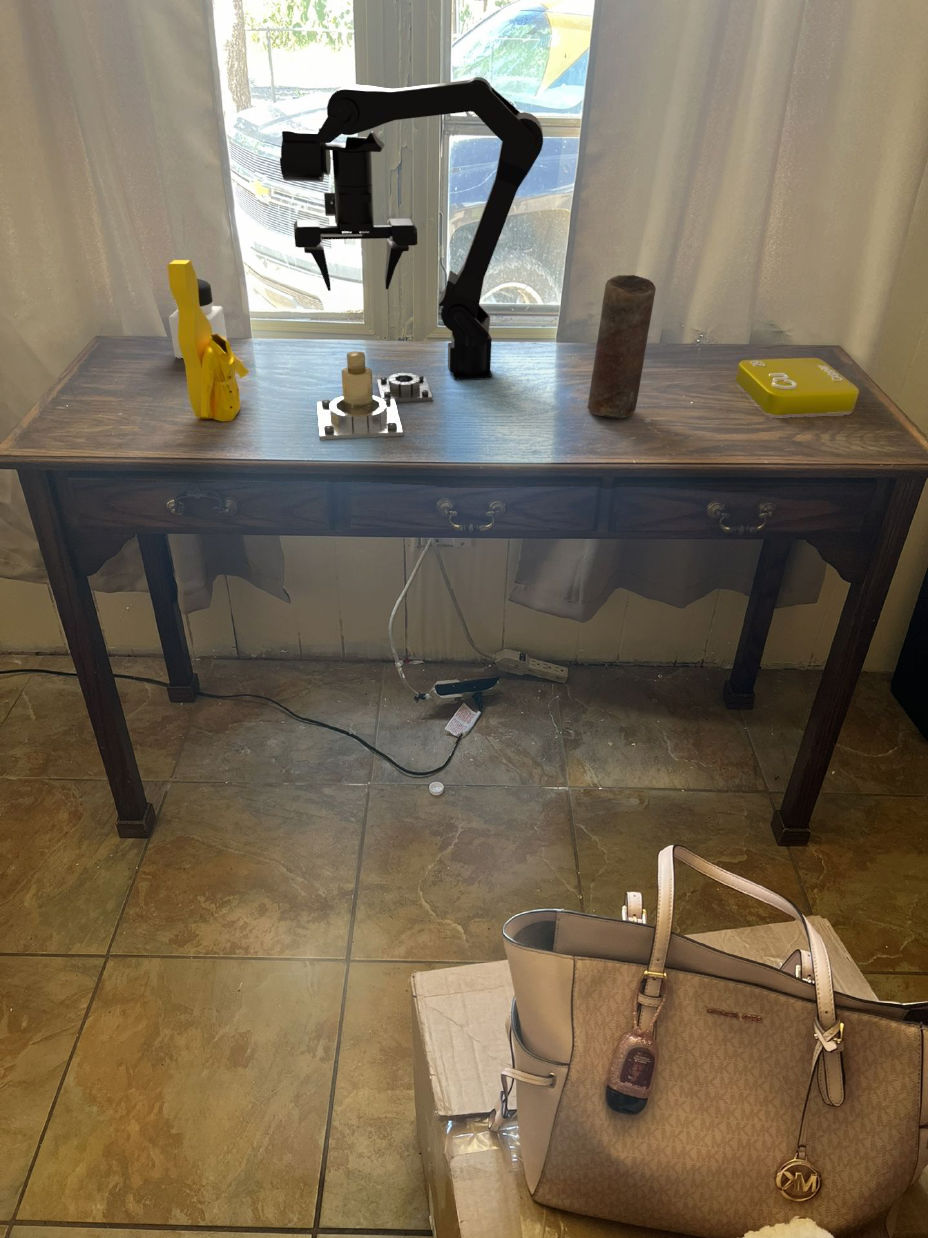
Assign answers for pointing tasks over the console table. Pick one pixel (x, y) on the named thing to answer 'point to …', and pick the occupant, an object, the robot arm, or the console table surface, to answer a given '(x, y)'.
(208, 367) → the yellow tall sculpted piece
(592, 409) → the rusty brown cylinder
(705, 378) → the console table surface
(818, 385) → the element tile
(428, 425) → the console table surface
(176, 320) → the medicine bottle
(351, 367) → the gold metal cylinder
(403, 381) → the flange small
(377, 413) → the flange large
